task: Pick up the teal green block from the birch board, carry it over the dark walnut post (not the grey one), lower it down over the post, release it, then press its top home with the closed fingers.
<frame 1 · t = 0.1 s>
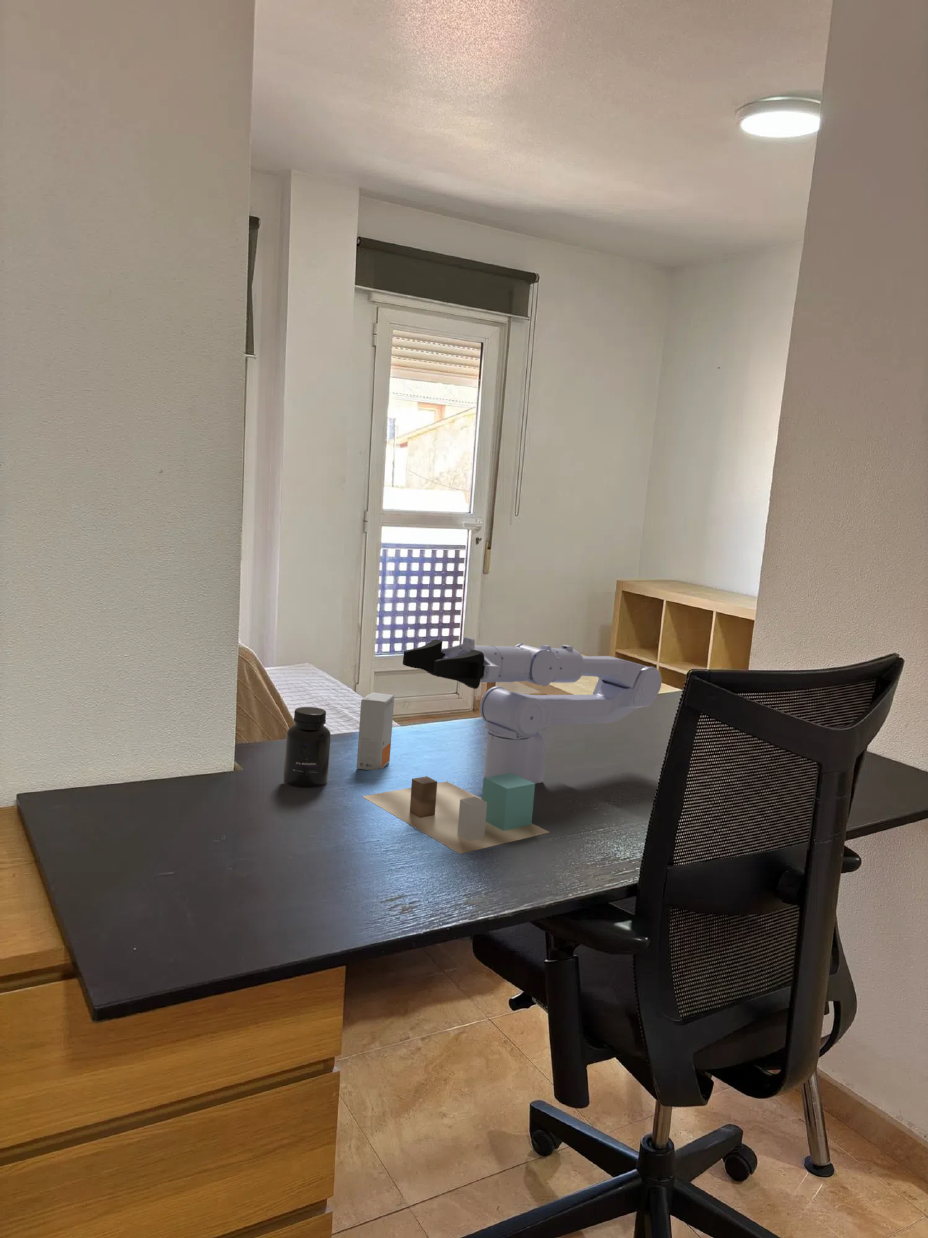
hand: (419, 663, 133), 22 cm above the table, tool horizontal, fingers open, 7 cm apart
grey post: (470, 836, 124), resting on board
walnut post: (422, 813, 131), resting on board
skincare box: (373, 766, 154), on the table
board: (452, 819, 132), on the table
teal green block: (505, 821, 130), point 1 cm above the table, touching board
supplement bottle: (305, 786, 141), on the table
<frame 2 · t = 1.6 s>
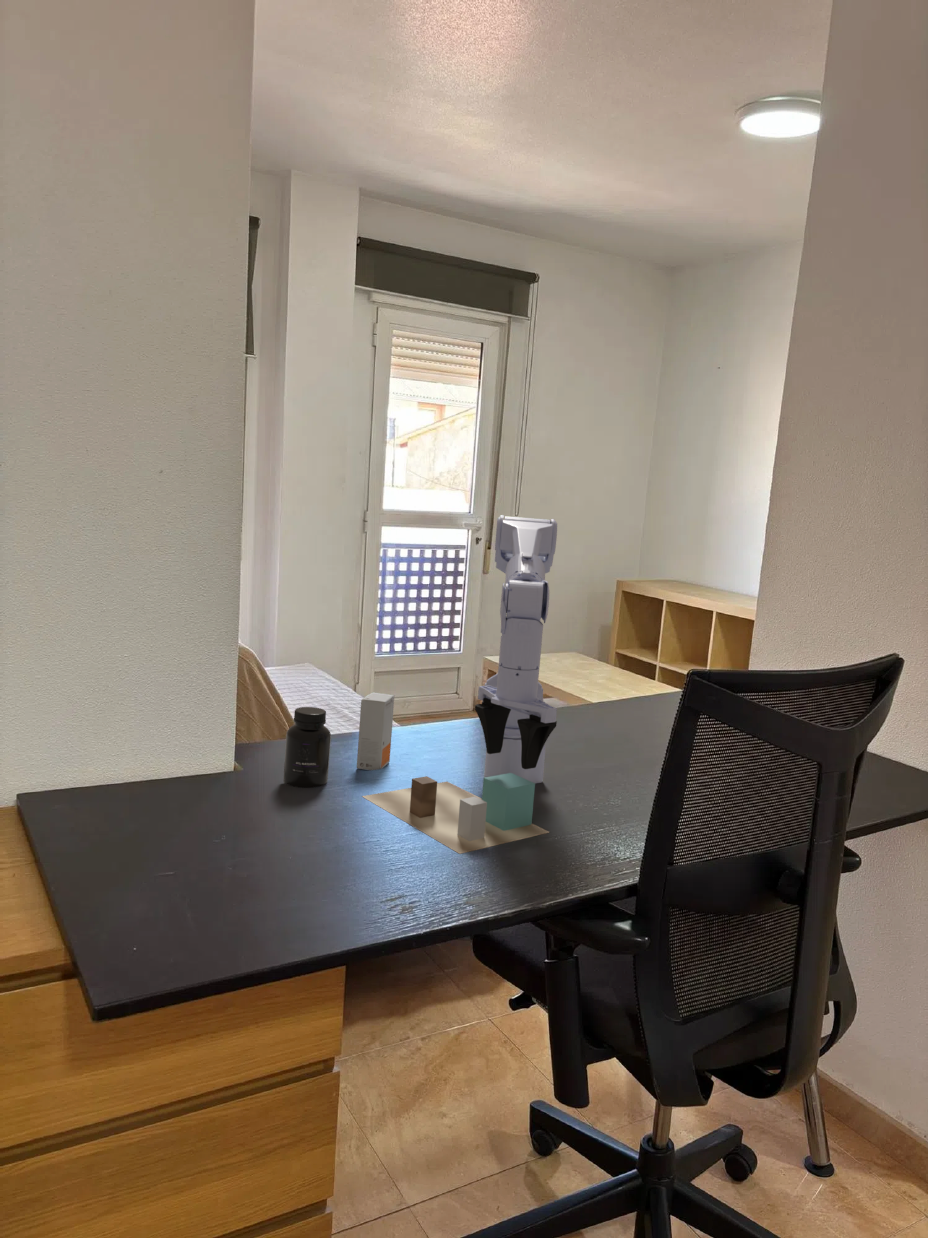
hand: (510, 760, 129), 10 cm above the table, tool pointing down, fingers open, 7 cm apart
nothing on the table moved.
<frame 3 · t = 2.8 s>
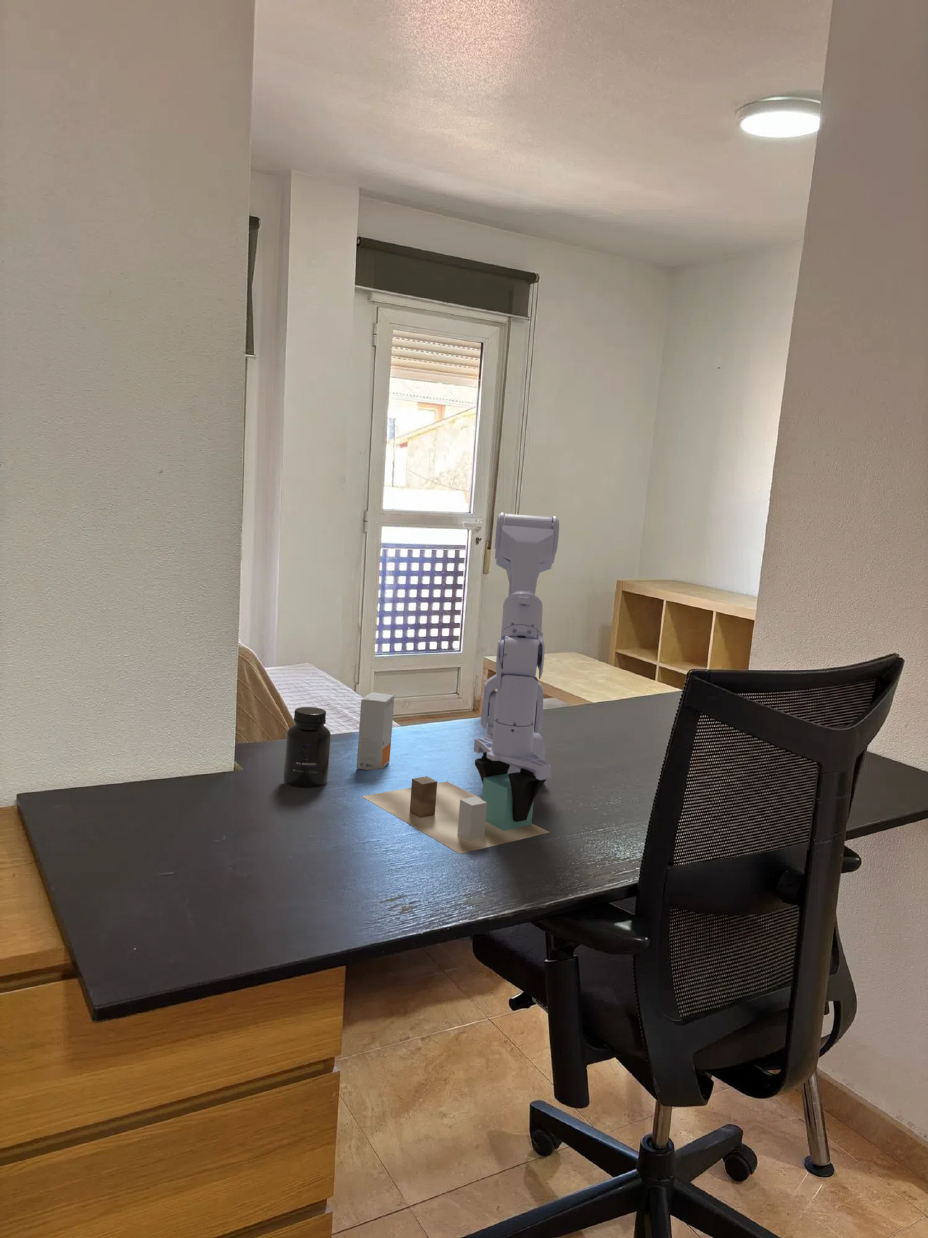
hand: (506, 813, 130), 2 cm above the table, tool pointing down, fingers closed on teal green block, 5 cm apart
teal green block: (505, 821, 130), point 1 cm above the table, touching board, gripper
everything else where it was.
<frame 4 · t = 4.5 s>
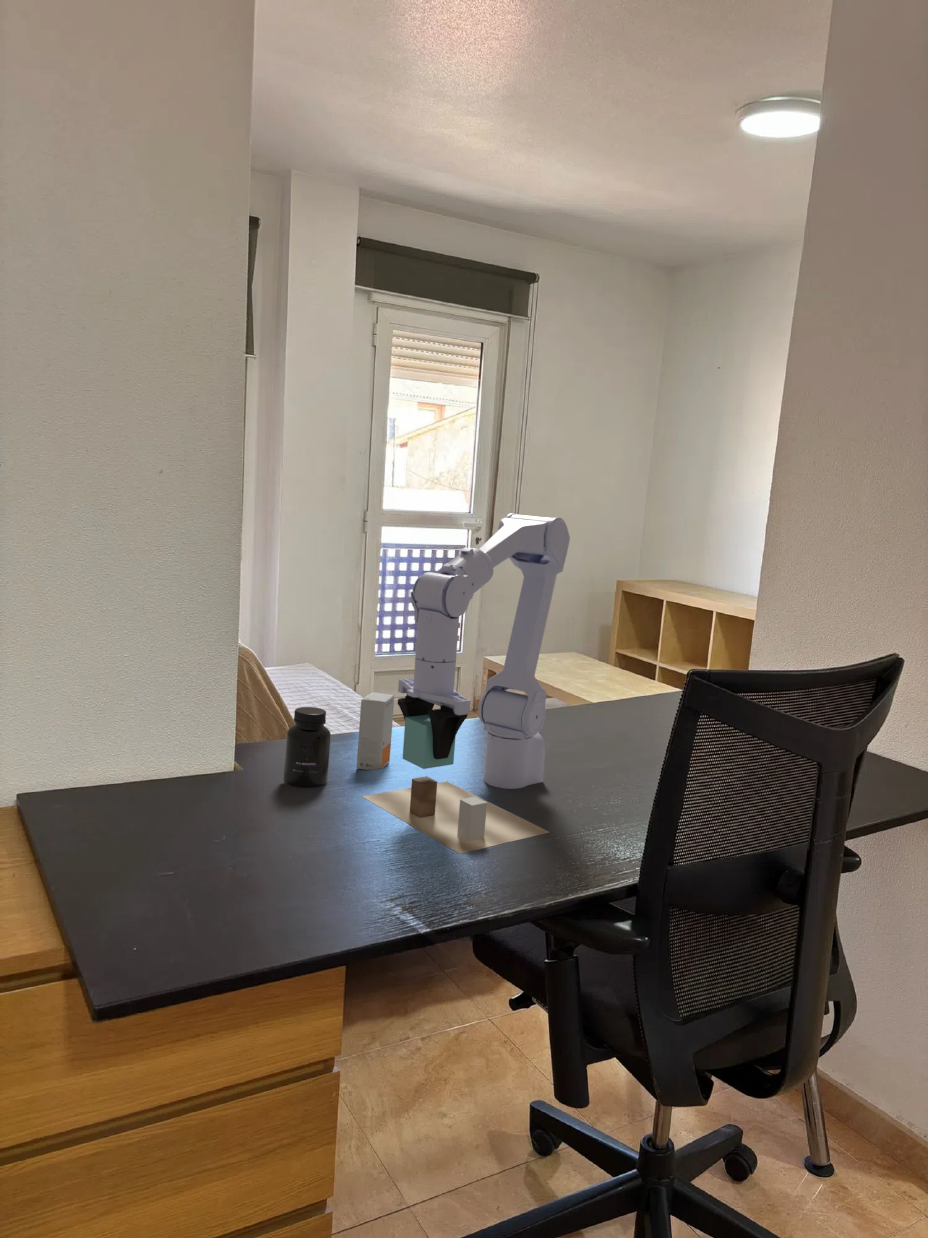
hand: (428, 752, 129), 10 cm above the table, tool pointing down, fingers closed on teal green block, 5 cm apart
teal green block: (427, 761, 129), point 9 cm above the table, touching gripper
everything else where it was.
when the fingers open (3 cm above the table, at t = 6.2 s): teal green block stays where it is, resting on board.
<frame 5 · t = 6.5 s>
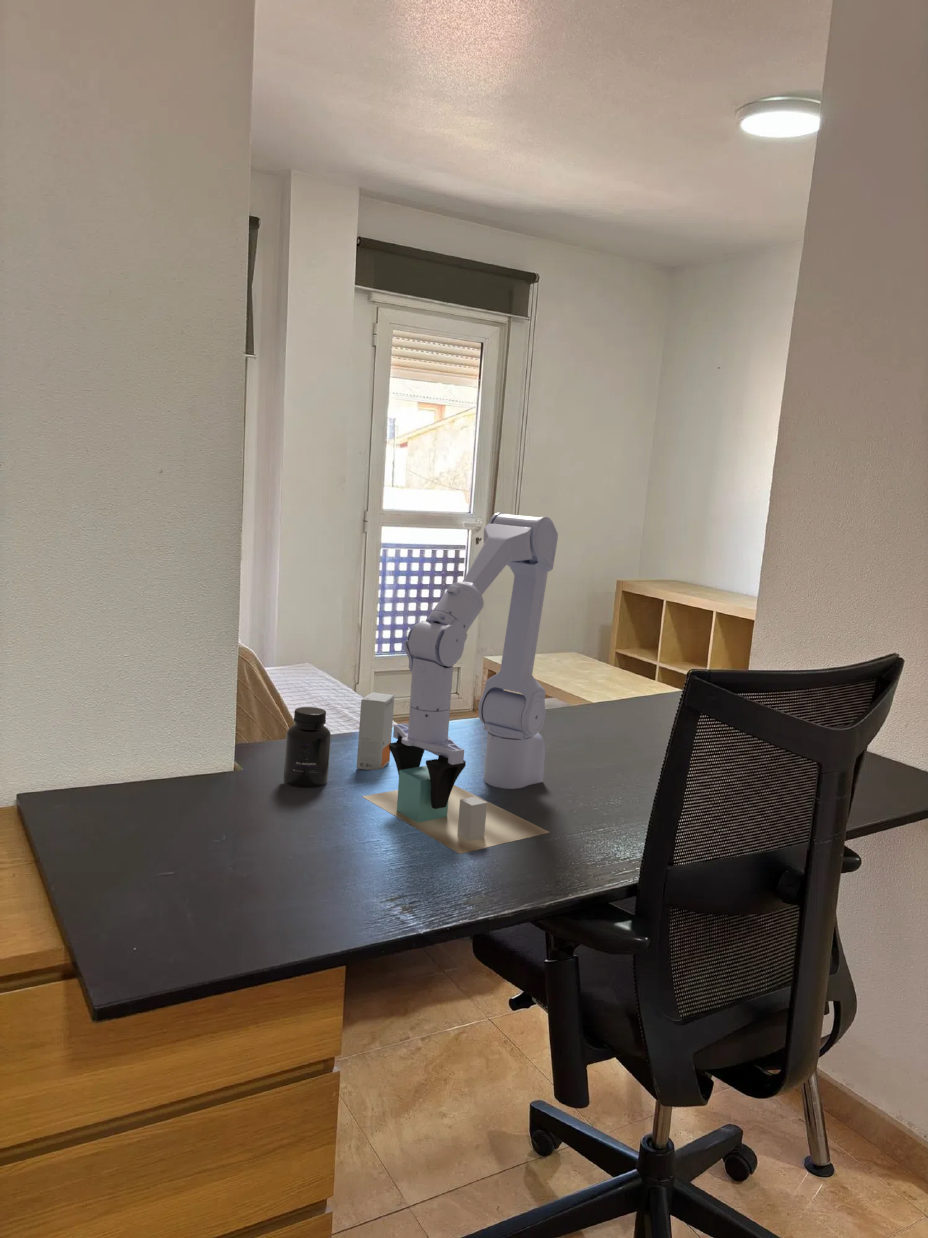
hand: (423, 798, 130), 3 cm above the table, tool pointing down, fingers open, 7 cm apart
teal green block: (421, 813, 131), point 1 cm above the table, touching board
everything else where it was.
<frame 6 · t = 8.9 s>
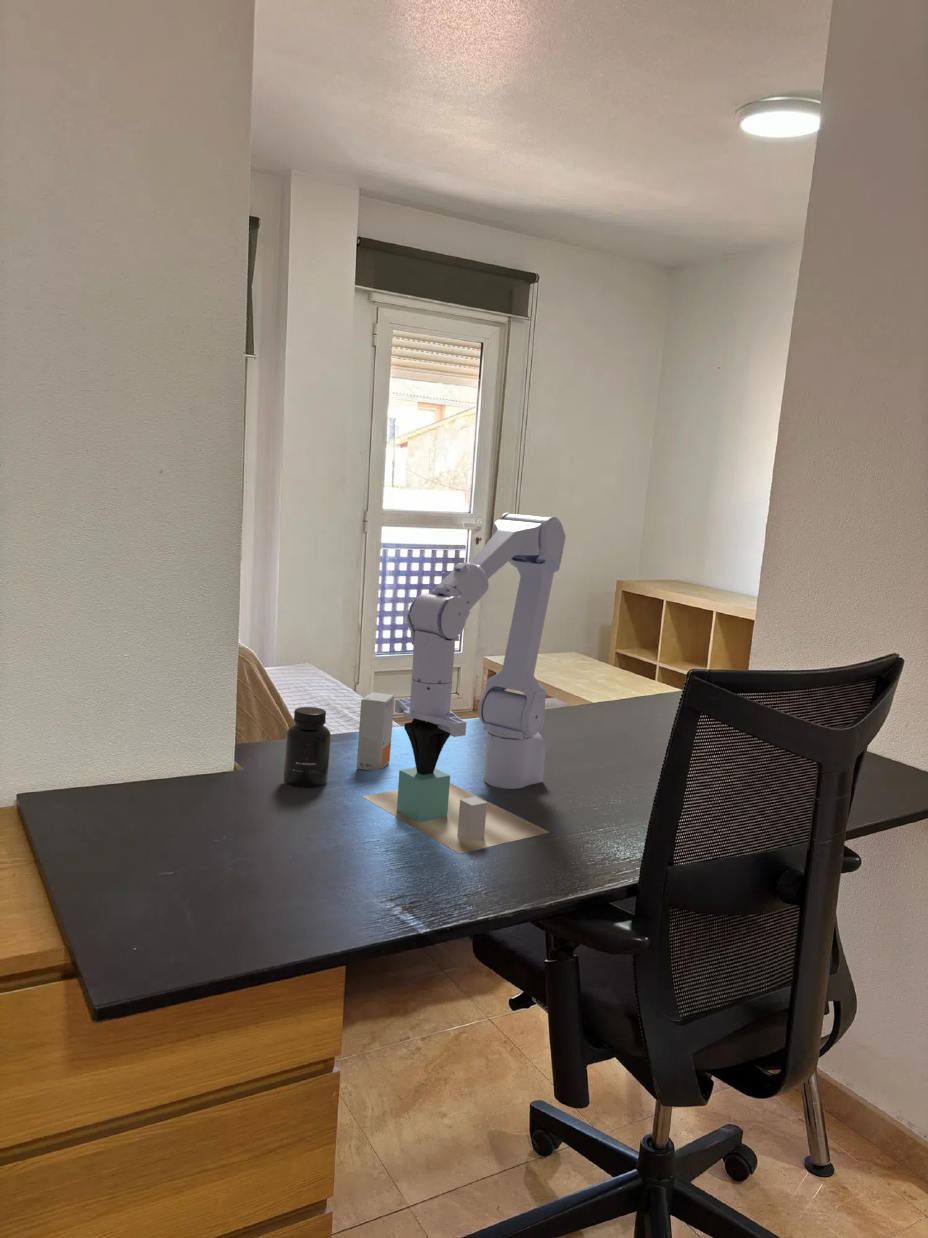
hand: (425, 772, 130), 7 cm above the table, tool pointing down, fingers closed
nothing on the table moved.
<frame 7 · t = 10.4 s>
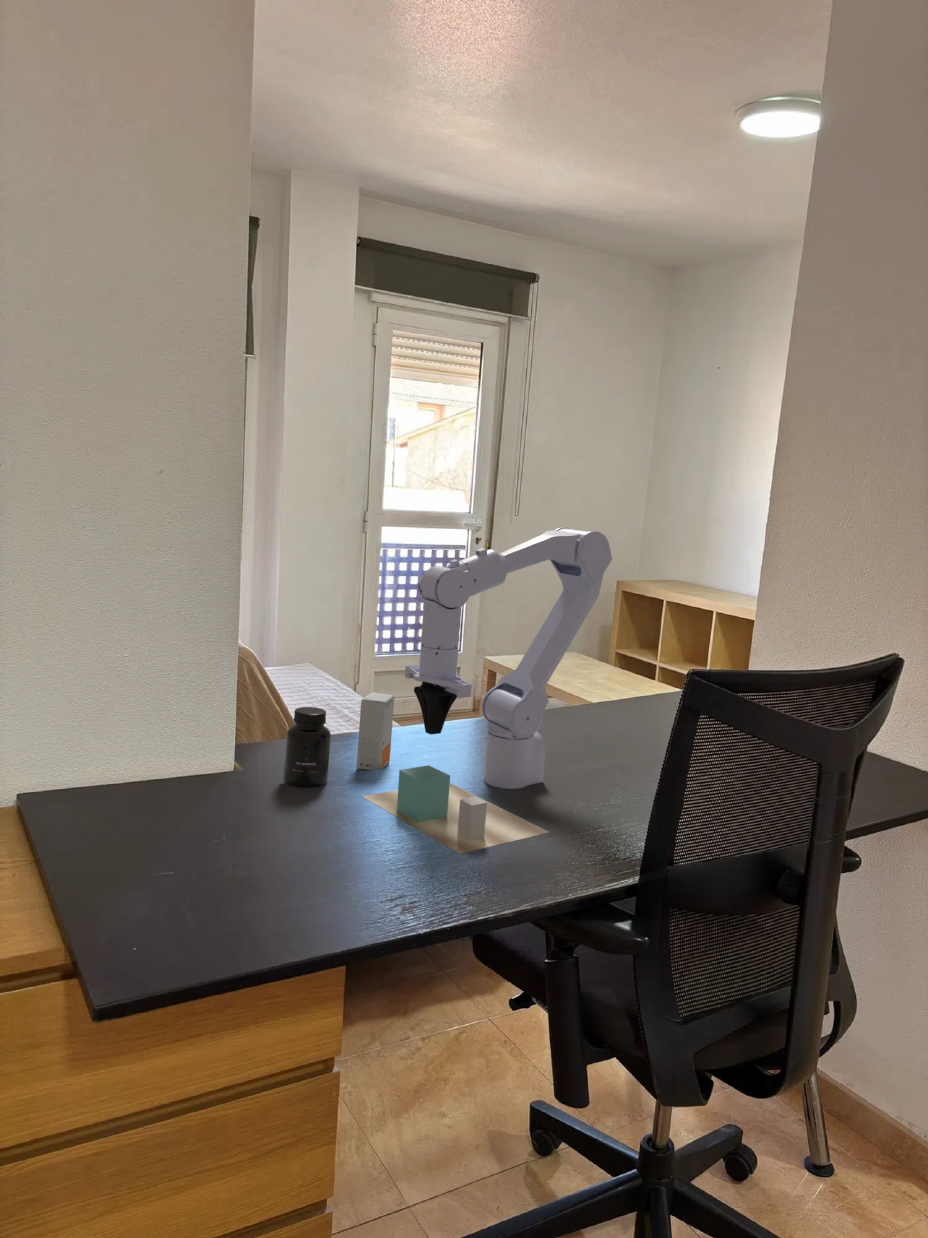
hand: (433, 733, 140), 10 cm above the table, tool pointing down, fingers closed
nothing on the table moved.
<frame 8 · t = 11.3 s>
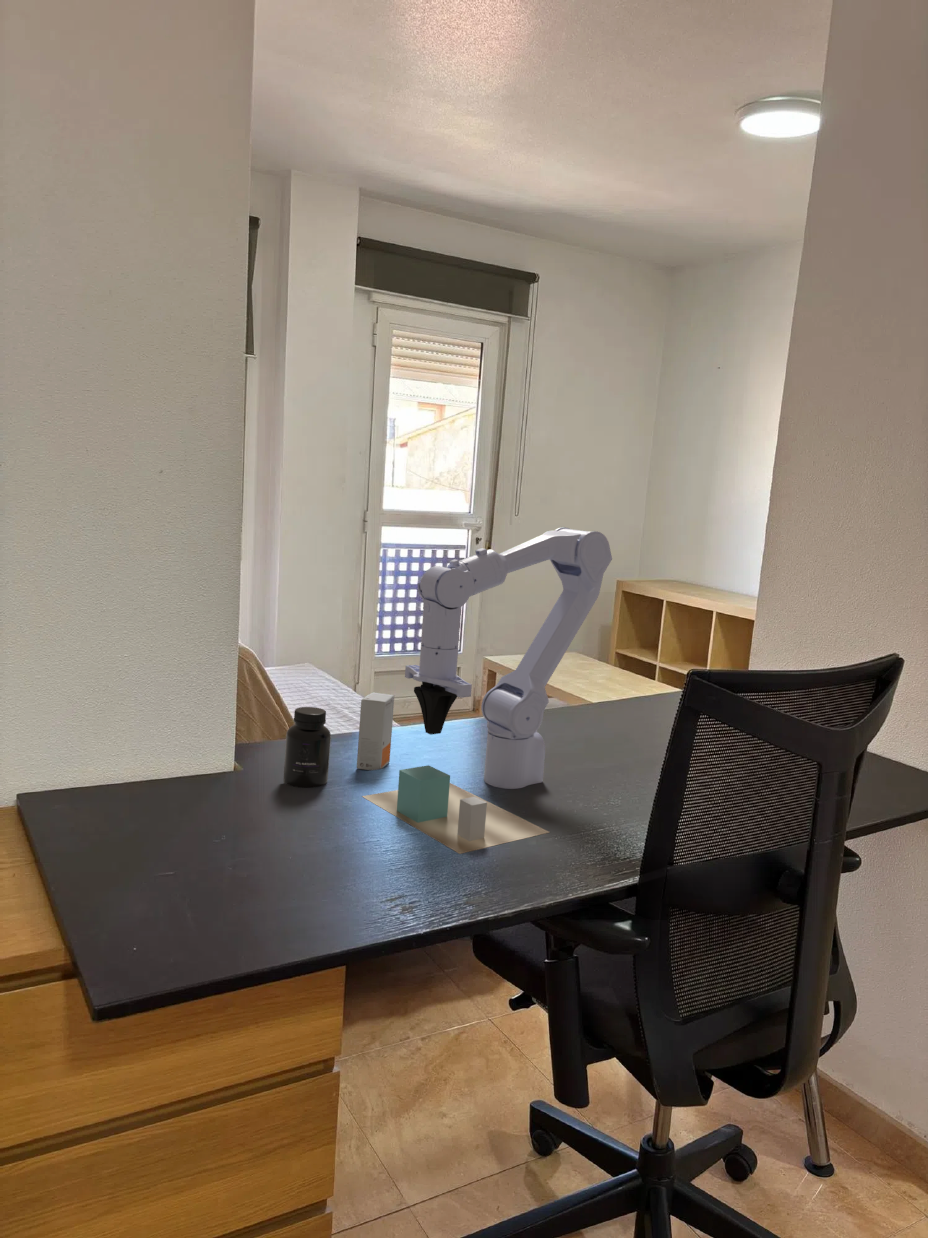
hand: (433, 733, 140), 10 cm above the table, tool pointing down, fingers closed
nothing on the table moved.
at the end: teal green block 0.1 cm from the walnut post (horizontally); teal green block point 0.8 cm above the table; teal green block tilted 0° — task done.
